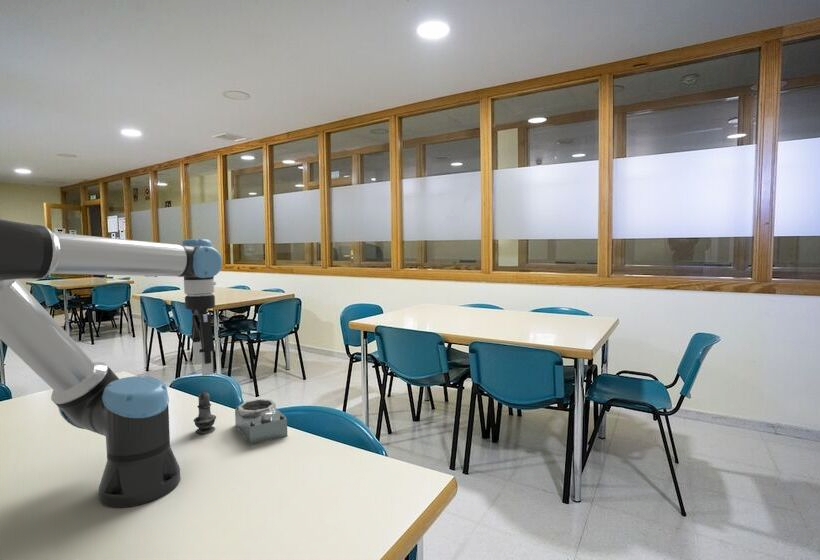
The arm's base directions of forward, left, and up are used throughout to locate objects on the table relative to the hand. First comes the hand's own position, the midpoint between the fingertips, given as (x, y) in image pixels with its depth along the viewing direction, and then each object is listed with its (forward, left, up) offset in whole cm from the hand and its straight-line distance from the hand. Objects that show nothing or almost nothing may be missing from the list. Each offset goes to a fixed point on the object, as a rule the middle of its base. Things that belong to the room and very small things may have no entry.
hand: (203, 369), depth 123 cm
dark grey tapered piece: (0, 0, -18) cm, 18 cm away
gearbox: (-9, -13, -18) cm, 24 cm away
